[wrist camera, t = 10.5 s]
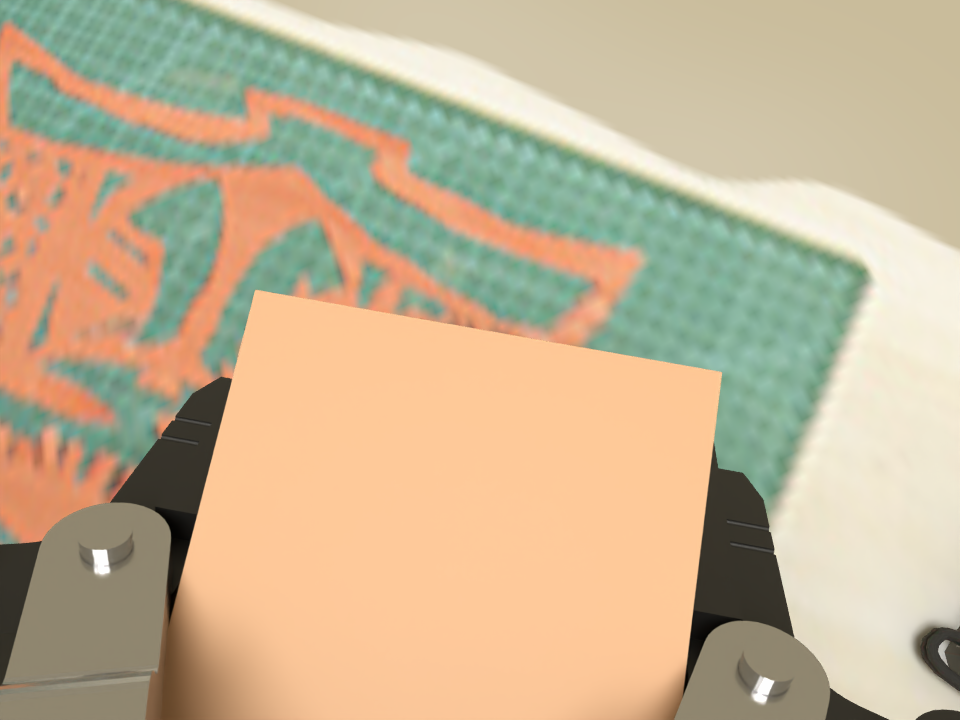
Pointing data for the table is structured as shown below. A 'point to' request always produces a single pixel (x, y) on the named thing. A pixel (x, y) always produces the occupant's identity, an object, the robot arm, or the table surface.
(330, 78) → the table surface
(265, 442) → the block
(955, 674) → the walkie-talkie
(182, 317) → the table surface
